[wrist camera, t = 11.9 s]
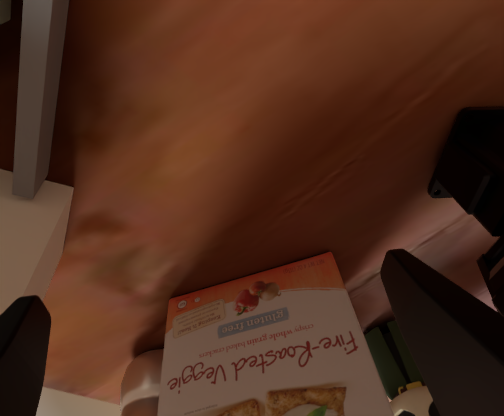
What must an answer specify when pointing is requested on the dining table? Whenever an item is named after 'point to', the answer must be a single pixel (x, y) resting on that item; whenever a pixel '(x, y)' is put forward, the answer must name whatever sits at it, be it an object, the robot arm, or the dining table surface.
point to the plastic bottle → (142, 385)
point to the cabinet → (34, 161)
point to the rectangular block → (5, 11)
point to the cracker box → (270, 348)
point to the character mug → (399, 373)
